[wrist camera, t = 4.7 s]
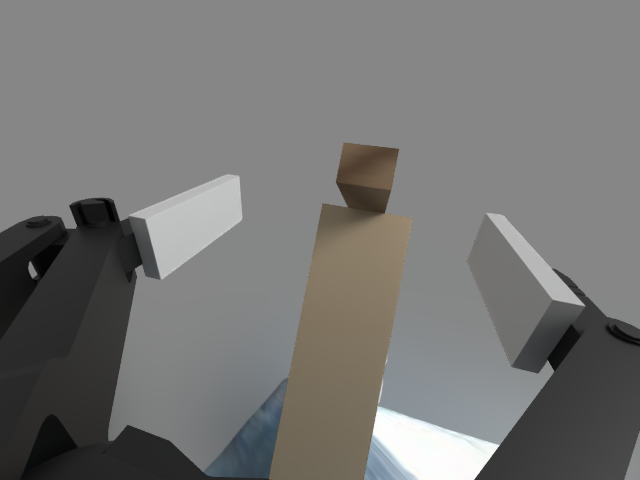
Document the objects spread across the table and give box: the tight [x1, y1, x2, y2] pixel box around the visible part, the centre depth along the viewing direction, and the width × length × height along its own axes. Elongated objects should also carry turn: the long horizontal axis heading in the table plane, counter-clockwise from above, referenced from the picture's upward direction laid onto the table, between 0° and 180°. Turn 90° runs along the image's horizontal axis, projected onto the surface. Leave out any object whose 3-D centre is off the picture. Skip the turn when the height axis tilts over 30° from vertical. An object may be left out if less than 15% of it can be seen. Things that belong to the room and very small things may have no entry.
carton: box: [269, 204, 413, 480], centre depth 35 cm, size 10×11×36 cm
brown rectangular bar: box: [336, 143, 399, 213], centre depth 33 cm, size 4×27×3 cm, turn 169°
